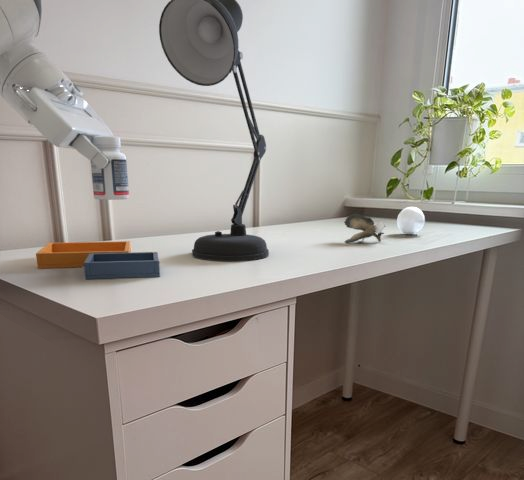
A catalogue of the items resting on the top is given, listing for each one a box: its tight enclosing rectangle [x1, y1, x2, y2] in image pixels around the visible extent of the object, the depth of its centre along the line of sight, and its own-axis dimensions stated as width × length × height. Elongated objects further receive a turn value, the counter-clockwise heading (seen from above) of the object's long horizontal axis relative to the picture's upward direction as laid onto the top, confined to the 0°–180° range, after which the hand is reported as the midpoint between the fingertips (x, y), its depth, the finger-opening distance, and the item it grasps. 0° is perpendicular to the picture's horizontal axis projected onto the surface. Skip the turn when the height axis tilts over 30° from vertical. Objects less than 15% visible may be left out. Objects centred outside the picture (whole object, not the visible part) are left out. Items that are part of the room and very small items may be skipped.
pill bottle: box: [90, 136, 130, 201], centre depth 78 cm, size 5×5×9 cm
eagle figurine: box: [343, 213, 386, 243], centre depth 125 cm, size 8×7×9 cm
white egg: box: [396, 206, 426, 235], centre depth 141 cm, size 10×7×7 cm
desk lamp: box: [158, 0, 270, 262], centre depth 98 cm, size 24×26×45 cm
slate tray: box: [83, 251, 161, 280], centre depth 87 cm, size 12×10×3 cm
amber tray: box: [35, 240, 132, 269], centre depth 97 cm, size 16×14×3 cm
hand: (113, 165), depth 78 cm, fingers closed on pill bottle, 5 cm apart
